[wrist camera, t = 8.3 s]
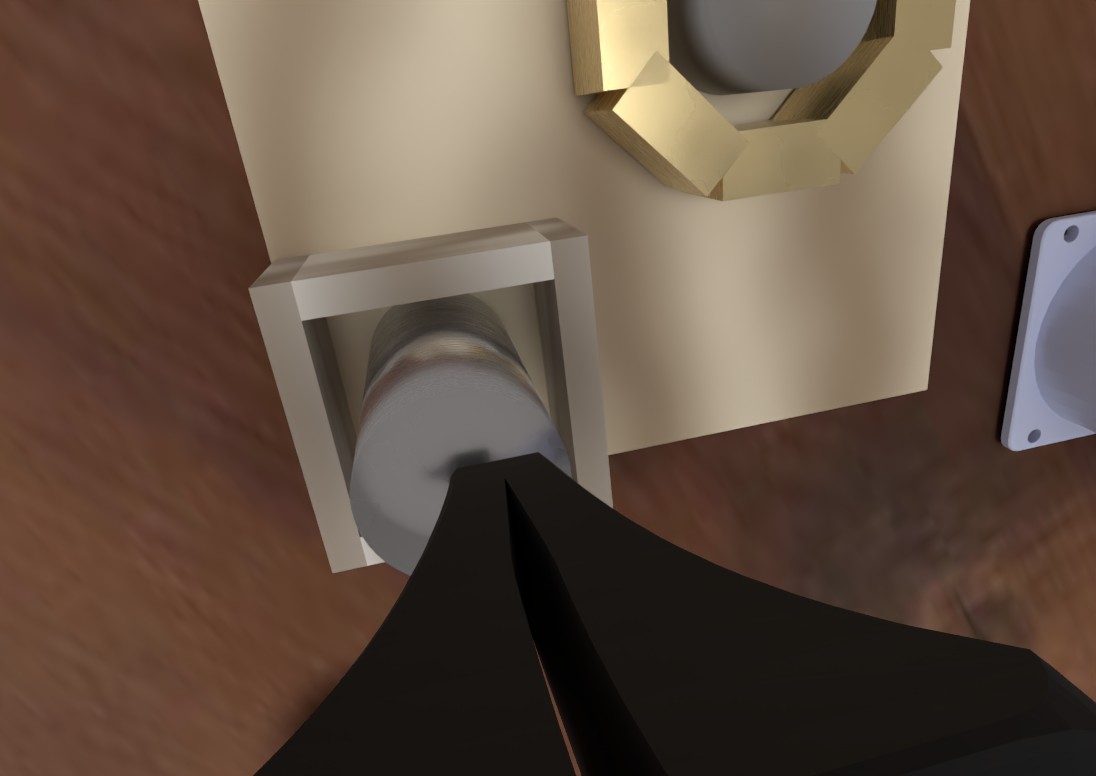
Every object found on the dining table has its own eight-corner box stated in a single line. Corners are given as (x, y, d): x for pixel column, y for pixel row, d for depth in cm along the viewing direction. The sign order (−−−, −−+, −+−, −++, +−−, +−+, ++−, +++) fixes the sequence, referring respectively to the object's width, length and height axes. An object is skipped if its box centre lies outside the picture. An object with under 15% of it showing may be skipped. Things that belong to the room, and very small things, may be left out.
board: (975, -424, 15) (1179, -618, 11) (900, 376, 22) (1006, 429, 18) (98, -413, 12) (-42, -662, 8) (343, 488, 19) (329, 577, 16)
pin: (521, 299, 17) (591, 402, 11) (498, 426, 18) (548, 587, 12) (378, 277, 16) (362, 376, 10) (362, 413, 17) (339, 579, 11)
